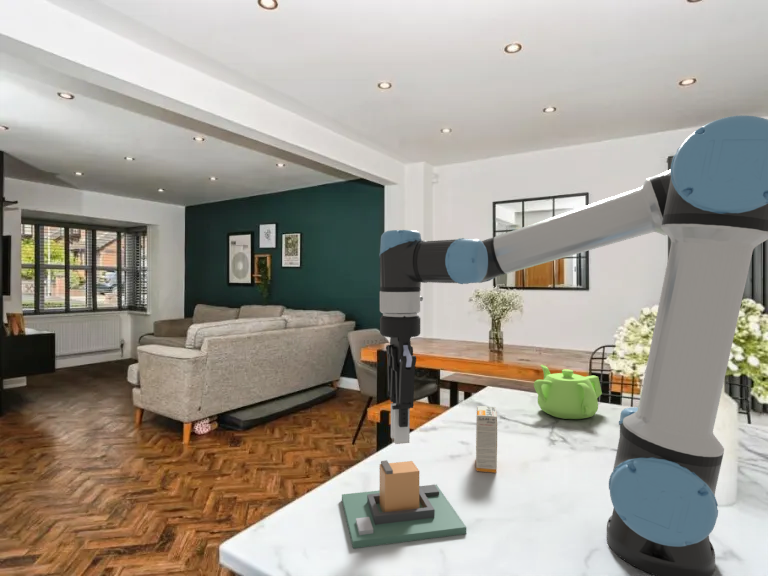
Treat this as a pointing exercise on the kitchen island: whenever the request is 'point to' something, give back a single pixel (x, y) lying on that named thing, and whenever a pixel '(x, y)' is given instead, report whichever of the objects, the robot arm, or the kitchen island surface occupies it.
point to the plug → (399, 486)
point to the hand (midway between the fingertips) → (399, 439)
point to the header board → (400, 519)
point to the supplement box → (486, 439)
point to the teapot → (568, 394)
